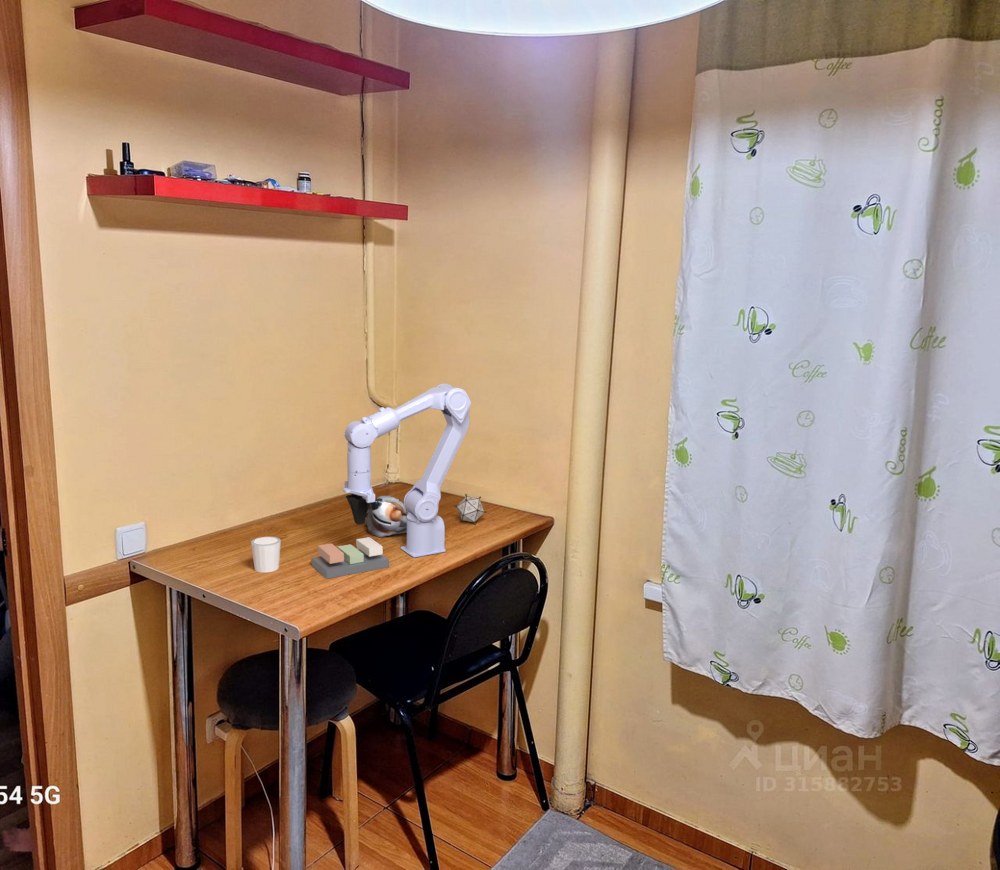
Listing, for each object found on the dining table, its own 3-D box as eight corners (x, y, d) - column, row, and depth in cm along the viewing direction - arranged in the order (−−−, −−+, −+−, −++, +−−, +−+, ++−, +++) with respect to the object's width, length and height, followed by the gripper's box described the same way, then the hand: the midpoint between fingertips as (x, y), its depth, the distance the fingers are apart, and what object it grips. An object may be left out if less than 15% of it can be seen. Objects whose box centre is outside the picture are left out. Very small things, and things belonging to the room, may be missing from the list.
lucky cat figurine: (423, 528, 224) (426, 493, 215) (399, 555, 216) (400, 520, 207) (380, 506, 229) (380, 471, 220) (354, 532, 220) (354, 497, 211)
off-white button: (369, 544, 201) (369, 537, 200) (382, 554, 194) (382, 546, 194) (356, 546, 199) (356, 539, 198) (369, 556, 192) (369, 548, 192)
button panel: (372, 554, 203) (372, 547, 202) (389, 567, 194) (389, 559, 194) (311, 565, 194) (311, 557, 194) (326, 578, 186) (326, 570, 185)
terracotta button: (331, 551, 195) (331, 543, 195) (344, 561, 189) (343, 553, 188) (317, 553, 193) (317, 545, 193) (330, 563, 187) (329, 555, 186)
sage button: (350, 551, 198) (350, 544, 198) (363, 561, 191) (363, 554, 191) (337, 554, 196) (337, 546, 196) (349, 564, 190) (349, 556, 189)
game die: (464, 533, 233) (454, 501, 237) (491, 523, 233) (481, 492, 236) (458, 526, 225) (448, 494, 228) (487, 516, 225) (476, 484, 228)
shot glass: (264, 575, 187) (263, 547, 185) (245, 568, 191) (244, 541, 189) (287, 567, 192) (286, 540, 191) (268, 561, 196) (268, 534, 195)
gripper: (332, 465, 198) (333, 517, 201) (355, 478, 187) (356, 533, 189) (359, 462, 202) (359, 513, 205) (383, 475, 190) (383, 529, 193)
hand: (359, 523), depth 197 cm, fingers closed
